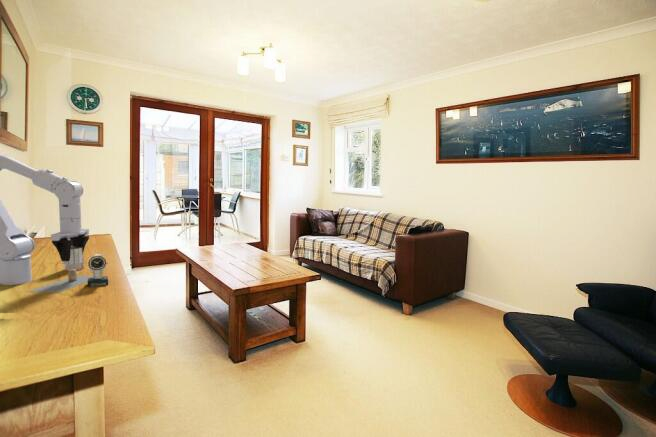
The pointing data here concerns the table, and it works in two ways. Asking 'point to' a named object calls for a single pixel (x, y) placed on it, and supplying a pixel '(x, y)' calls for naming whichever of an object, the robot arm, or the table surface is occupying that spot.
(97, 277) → the watch
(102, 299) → the table surface
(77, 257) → the gray hollow cylinder
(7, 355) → the table surface
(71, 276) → the post
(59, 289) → the board
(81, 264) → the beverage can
